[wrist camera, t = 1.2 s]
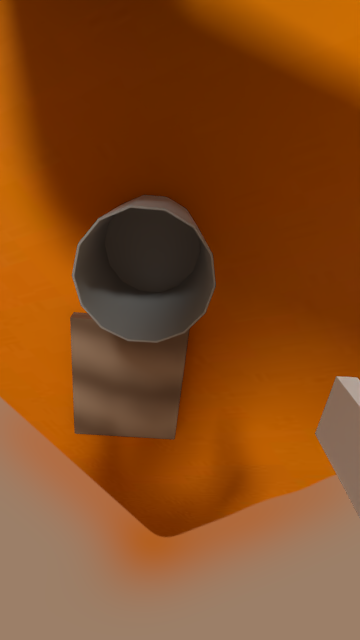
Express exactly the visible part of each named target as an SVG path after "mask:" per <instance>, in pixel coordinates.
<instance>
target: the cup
mask: <svg viewBox="0 0 360 640" xmlns="http://www.w3.org/2000/svg"><path fill="white" fill-rule="evenodd" d="M72 277H73V281H74V284H75V287H76V291H77V294H78V297H79V301H80V304H81V306H82V307H83V308H84V309H85V310H86V312H87V313H88V314H89V315H90V316H91V317H92V318H93V320H94V321H95V322H96V323H97V324H98V325H99V327H100V328H102V329H104V330H106V331H108V332H110V333H112V334H114V335H116V336H118V337H120V338H122V339H125V340H127V341H135V342H152V343H158V342H161V341H164V340H166V339H169V338H172V337H175V336H178V335H181V334H183V333H185V332H186V331H187V330H188V329H189V328H190V327H191V326H192V325H194V324H195V323H196V322H197V321H198V320H199V319H200V318H201V317H202V316H203V315H204V314H205V313H206V310H207V308H208V305H209V302H210V300H211V297H212V294H213V292H214V289H215V287H216V282H215V272H214V262H213V254H212V252H211V250H210V248H209V247H208V245H207V243H206V241H205V239H204V237H203V235H202V234H201V232H200V230H199V228H198V226H197V225H196V223H195V222H194V220H193V218H192V217H191V215H190V214H189V212H188V210H187V209H186V208H184V207H183V206H181V205H179V204H178V203H176V202H175V201H173V200H171V199H170V198H168V197H164V196H153V195H142V196H140V197H138V198H135V199H133V200H130V201H128V202H126V203H123V204H122V205H120V206H118V207H117V208H115V209H113V210H112V211H110V212H108V213H107V214H105V215H103V216H102V217H100V218H98V220H97V221H96V222H95V223H94V224H93V226H92V227H91V228H90V229H89V231H88V232H87V233H86V234H85V236H84V237H83V238H82V239H81V241H80V242H79V243H78V245H77V251H76V256H75V261H74V267H73V272H72Z"/></svg>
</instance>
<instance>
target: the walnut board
mask: <svg viewBox="0 0 360 640" xmlns="http://www.w3.org/2000/svg"><path fill="white" fill-rule="evenodd" d="M70 319H71V346H72V373H73V399H74V426H75V433H76V434H93V435H110V436H126V437H143V438H159V439H175V432H176V425H177V417H178V410H179V403H180V395H181V388H182V380H183V373H184V366H185V358H186V351H187V343H188V336H189V329H188V330H187V331H186V332H185V333H183V334H181V335H178V336H175V337H172V338H169V339H166V340H164V341H161V342H158V343H152V342H135V341H127V340H125V339H122V338H120V337H118V336H116V335H114V334H112V333H110V332H108V331H106V330H104V329H102V328H100V327H99V325H98V324H97V323H96V322H95V321H94V320H93V318H92V317H91V316H90V315H89V314H88V313H76V312H74V313H73V315H72V316H71V317H70Z"/></svg>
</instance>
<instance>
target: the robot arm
mask: <svg viewBox="0 0 360 640" xmlns="http://www.w3.org/2000/svg"><path fill="white" fill-rule="evenodd" d="M315 434H316V436H317V438H318V440H319V442H320V444H321V446H322V447H323V449H324V451H325V453H326V455H327V457H328V459H329V461H330V463H331V465H332V466H333V468H334V470H335V472H336V474H337V476H338V478H339V480H340V482H341V483H342V485H343V487H344V489H345V491H346V493H347V495H348V497H349V499H350V500H351V502H352V504H353V506H354V508H355V510H356V512H357V514H358V516H359V518H360V380H359V379H358V378H357V377H340V376H336V378H335V381H334V384H333V387H332V389H331V392H330V395H329V398H328V400H327V403H326V406H325V408H324V411H323V414H322V417H321V419H320V422H319V425H318V427H317V430H316V433H315Z"/></svg>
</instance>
